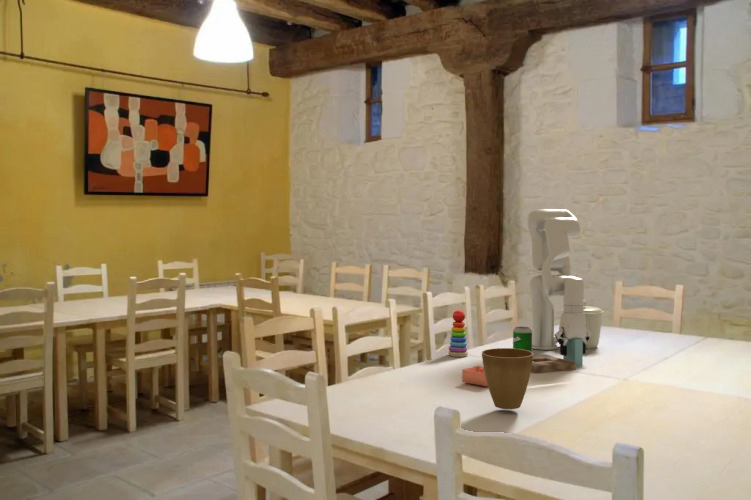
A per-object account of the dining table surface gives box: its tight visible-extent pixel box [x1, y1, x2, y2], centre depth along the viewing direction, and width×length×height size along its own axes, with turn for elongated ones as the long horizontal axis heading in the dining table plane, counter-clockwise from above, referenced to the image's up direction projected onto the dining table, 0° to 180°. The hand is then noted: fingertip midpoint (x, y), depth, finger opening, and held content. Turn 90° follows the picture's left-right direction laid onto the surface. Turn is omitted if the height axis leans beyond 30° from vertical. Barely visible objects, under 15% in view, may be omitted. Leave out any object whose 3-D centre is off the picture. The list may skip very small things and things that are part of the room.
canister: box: [560, 299, 605, 350], centre depth 301 cm, size 18×18×21 cm
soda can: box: [512, 326, 533, 352], centre depth 279 cm, size 8×8×12 cm
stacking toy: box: [448, 309, 469, 358], centre depth 281 cm, size 8×8×19 cm
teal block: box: [562, 339, 584, 367], centre depth 265 cm, size 4×7×10 cm, turn 23°
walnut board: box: [530, 353, 577, 374], centre depth 260 cm, size 18×18×4 cm
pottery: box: [461, 365, 488, 387], centre depth 238 cm, size 18×10×10 cm, turn 139°
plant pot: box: [481, 347, 534, 410], centre depth 201 cm, size 15×15×16 cm
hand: (572, 354), depth 265 cm, fingers open, 8 cm apart
